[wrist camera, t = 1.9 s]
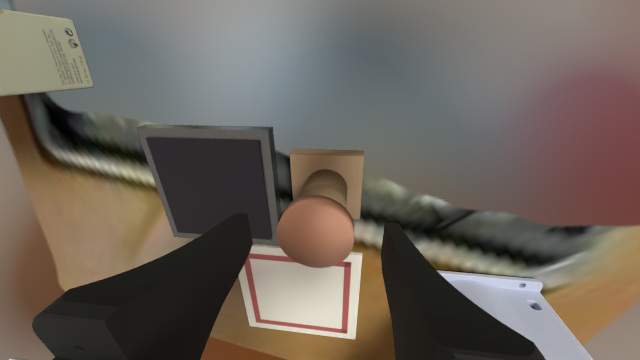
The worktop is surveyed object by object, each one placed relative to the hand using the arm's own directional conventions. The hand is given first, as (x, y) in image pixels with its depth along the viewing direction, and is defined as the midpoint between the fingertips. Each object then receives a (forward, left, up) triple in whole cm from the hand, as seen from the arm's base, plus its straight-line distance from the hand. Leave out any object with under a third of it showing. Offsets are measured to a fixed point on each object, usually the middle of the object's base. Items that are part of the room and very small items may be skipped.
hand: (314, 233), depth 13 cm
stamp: (0, 0, -7) cm, 7 cm away
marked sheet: (+3, +13, -7) cm, 15 cm away
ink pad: (+9, +1, -7) cm, 11 cm away
